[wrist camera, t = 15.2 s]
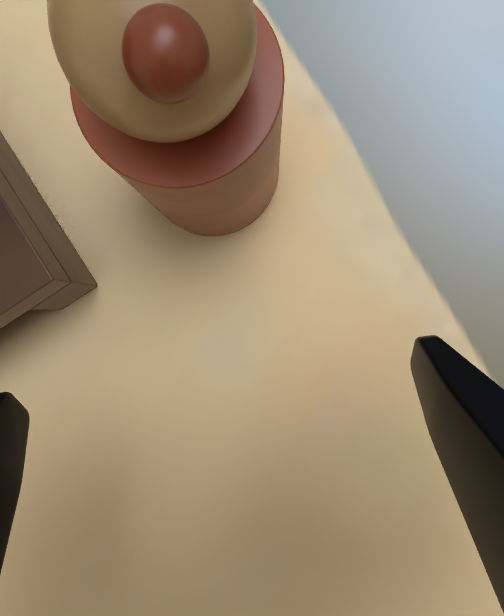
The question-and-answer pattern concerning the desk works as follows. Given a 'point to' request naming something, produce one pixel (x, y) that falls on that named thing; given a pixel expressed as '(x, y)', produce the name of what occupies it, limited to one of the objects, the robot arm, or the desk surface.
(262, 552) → the desk surface
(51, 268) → the brown l-shaped bookend
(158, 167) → the wooden toy
